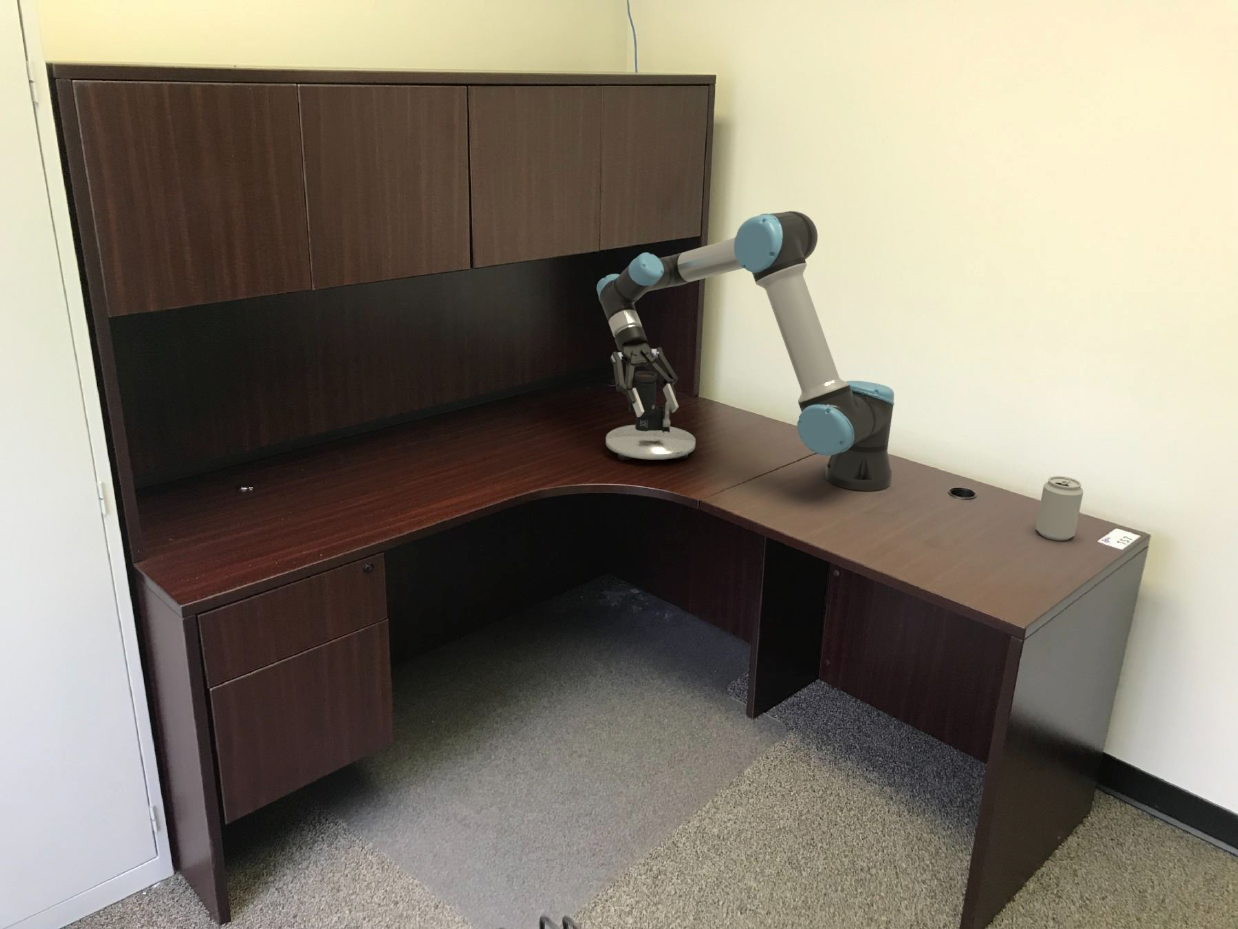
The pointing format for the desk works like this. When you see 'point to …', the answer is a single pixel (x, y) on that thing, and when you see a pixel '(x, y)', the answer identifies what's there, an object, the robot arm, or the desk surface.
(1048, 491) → the can
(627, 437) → the base
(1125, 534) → the desk surface
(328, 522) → the desk surface
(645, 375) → the scope
